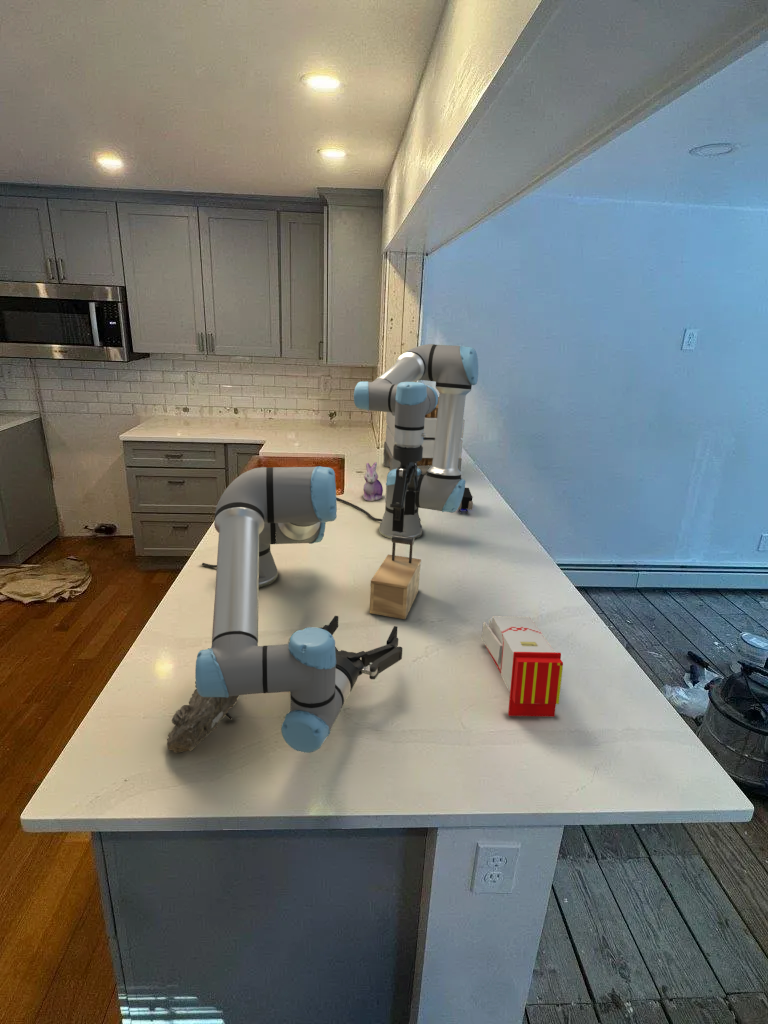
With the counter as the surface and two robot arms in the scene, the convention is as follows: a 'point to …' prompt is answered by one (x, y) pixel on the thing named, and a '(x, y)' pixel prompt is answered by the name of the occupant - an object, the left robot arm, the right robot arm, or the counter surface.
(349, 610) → the counter surface
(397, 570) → the lid
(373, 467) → the figurine
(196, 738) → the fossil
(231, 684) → the left robot arm
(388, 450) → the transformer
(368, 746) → the counter surface
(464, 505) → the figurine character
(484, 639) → the toy
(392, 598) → the chest
